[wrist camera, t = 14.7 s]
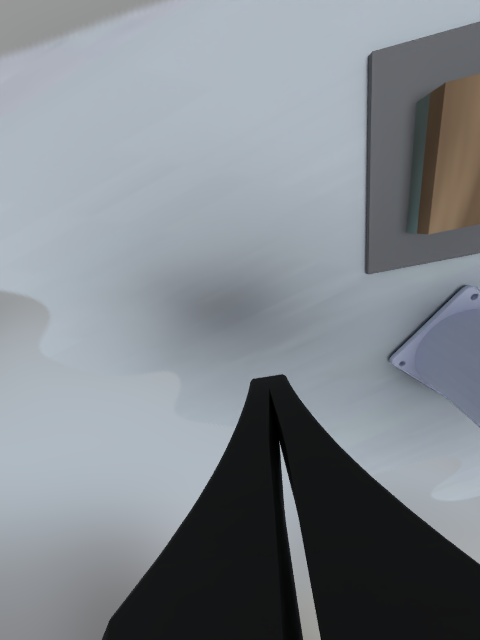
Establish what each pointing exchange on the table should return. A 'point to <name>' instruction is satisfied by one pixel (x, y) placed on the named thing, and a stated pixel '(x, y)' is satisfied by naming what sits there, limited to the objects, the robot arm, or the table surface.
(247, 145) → the table surface
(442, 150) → the tile
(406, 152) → the mat
